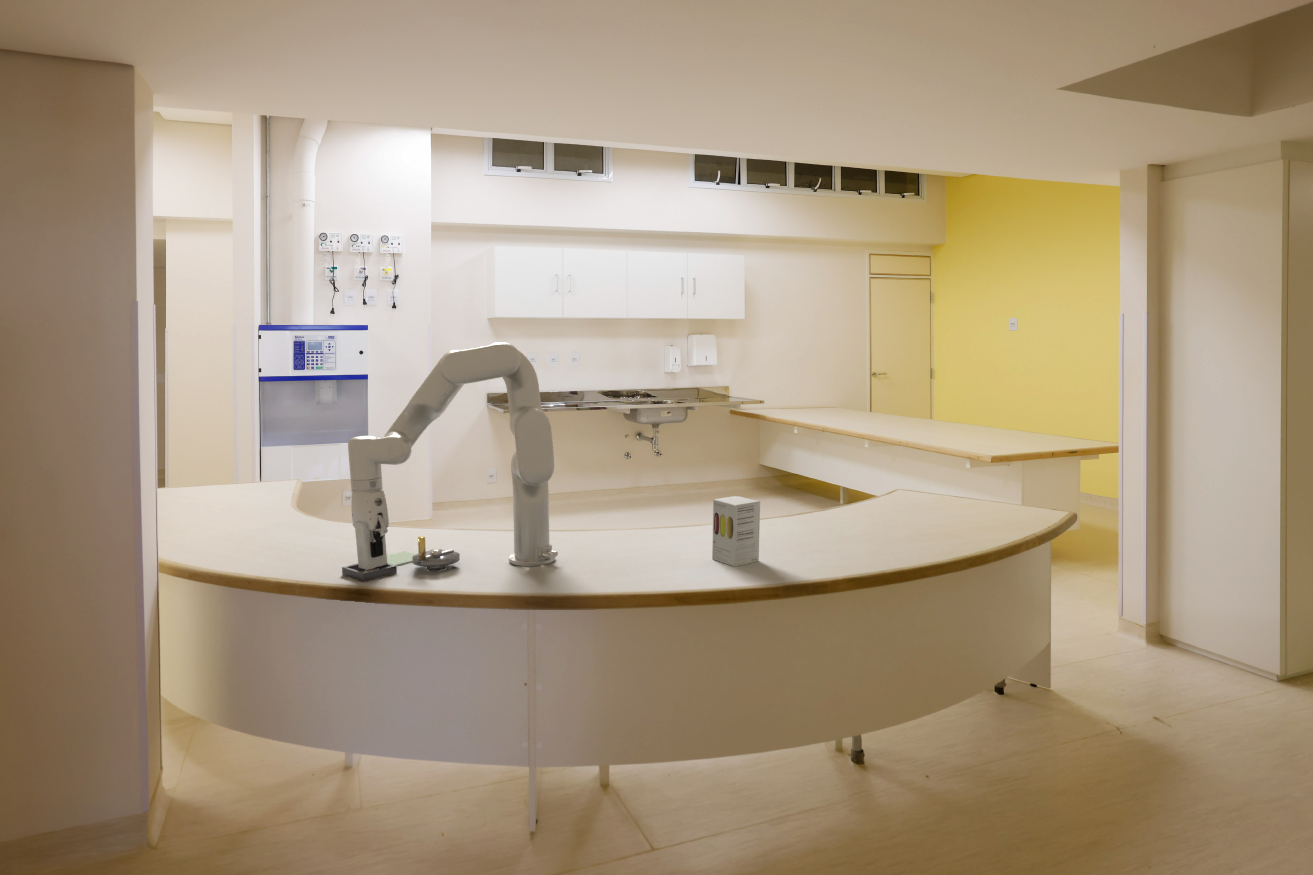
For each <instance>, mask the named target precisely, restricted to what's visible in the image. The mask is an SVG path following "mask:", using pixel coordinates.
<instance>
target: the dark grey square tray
mask: <svg viewBox="0 0 1313 875" xmlns="http://www.w3.org/2000/svg"><path fill="white" fill-rule="evenodd" d="M364 571H367V570H366V569H362V568H359V566H358V563H354V564H350V565H347V566H343V567H341V572H342V574H341V575H342V576H344V577H347V578H350V579H352V580H353V579H354V580H356V581H359V582H363V583H365V582H368V581H372V580H376V579H379V578H384V577H389V576H392V575H395V574H397V573H398V568H397V566H396V565H392V564H389V563H387V564H386V565H383V566H379V567H376V568H375V569H374V570H370V571H367V572H364Z"/></svg>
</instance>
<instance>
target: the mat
mask: <svg viewBox="0 0 1313 875" xmlns="http://www.w3.org/2000/svg"><path fill="white" fill-rule="evenodd" d="M416 554H417V553H414V552H410V551H406V550H404V551H400V552H395V553H392V554H387V563H389V564H392V565H396V566H402V565H406V564H411V563H413V562H412V557H413V556H414V555H416Z"/></svg>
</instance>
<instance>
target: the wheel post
mask: <svg viewBox="0 0 1313 875" xmlns="http://www.w3.org/2000/svg"><path fill="white" fill-rule="evenodd" d="M446 569H447V565H446V566H439V567H426V570H427V571H429V572H440V571H444V570H446Z"/></svg>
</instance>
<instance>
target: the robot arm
mask: <svg viewBox="0 0 1313 875" xmlns="http://www.w3.org/2000/svg"><path fill="white" fill-rule="evenodd" d="M499 378H502V380H503V381H504V383H505V388H506V394H507V400H508V403H507V404H508V412H509V414H508V415H509V429H510V431H511V434H513V436H514V440H515V441H514V443H515V451H514V452H513V455H512V458H511V464H510V468H511V470H510V471H511V481H512V496H513V497H512V498H513V499H512V500H513V506H512V507H513V508H512V509H513V510H512V511H513V544H514V545H513V548H514V549H513V550H514V553H511V554H510V555H509V556H508V562H509V563H510V564H512V565H516V566H522V567H536V566H544V565H547V564H548V565H549V564H551V563H553V562H554V561H555V560H556V557H558V555H559V552H558V551H556V550H553V544H551V543H550V493H549V492H550V490H549V481H550V480H551V479H552V477H553V475H554V471H555V455H554V453H555V452H554V443H553V442H554V441H553V433H552V432H553V431H552V426H551V421H550V419H549V417H548V416H547V414H546V413H545V412H544V411H543V409H542V408H543V407H542V399H541V394H540V386H539V378H538V375H537V372H536V370H535V367H534V365H533V364H532V363H531V361H530V359H528V357H527V356H526V355H524V353H523V352H521V351H520V350H519V349H518V348H516V346H514V345H513V344H511V343H509V342H503V341H496V342H493V343H491V344H489V345H485V346H479V347H474V348H467V349H461V350H460V349H452V350H449V351H447V352H445V354H444V355H442V357H440V359H439V360H438V362H437V363H436V365H435V366H434V367H433V369H432V370H431V371H430V373H429V374H428V375H427V377H426V379H424V381H422V383H421V385H420V386H419V388H417V390H416V392H415V393H414V394H413V395H412V397H411V398H410V400H409V401H408V403H407V404H406V406H405V408H403V410H402V412H401V413H400V414H399V416H397V418H395V419H396V420H395V421H394V422H393V423H392V425H390V428H389V429H388V430H387V432H386V433H385V434H384V436H382V437H377V436H374V435H359V436H354V437H351V438H349V440H348V442H347V450H348V452H347V453H348V463H349V476H350V477H349V478H350V487H351V488H350V490H351V492H350V493H351V502H350V503H351V504H350V505H351V520H352V526H353V527H354V529H355V522H361V523H365V524H366V526H367V530H370V535H371V540H372V542H370V547H371V557H372V558H375V557H378V556H382V555H383V541H382V540H384V535H385V536H386V534H387V533H388V532H389V530H388V527H389V526H390V520H389V519H390V518H389V512H388V511H389V510H388V504H387V498H386V495H385V494H386V493H385V492H384V490H383V477H382V476H383V474H382V465H390V466H391V465H393V466H394V465H395V466H396V465H402V464H404V463H406V462H407V461H408V460H409V459H410V457H411V454H412V448H413V446H414V445H415V443H416V442H417V441H418V439H419V438H420V437H421V435H422V434H423V433H424V431H425V430H426V429H427V428H428V427H429V426H430V425H431V424H432V423H433V422H434V421H436V420H437V419H438V418H440V417H441V416H442V415H443V413H444V412H445V411H446V410H447V408H448V407H449V406H450V404H451V403H452V401H453V400H454V398H455V397H456V396H457V394H459V392H460V391H461V389H462V388H463V386H464V385H465V384H473V383H478V382H483V381H489V380H494V379H499ZM377 526H378V529H376V528H375V527H377ZM376 531H378V533H376V535H375V533H374V532H376Z"/></svg>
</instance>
